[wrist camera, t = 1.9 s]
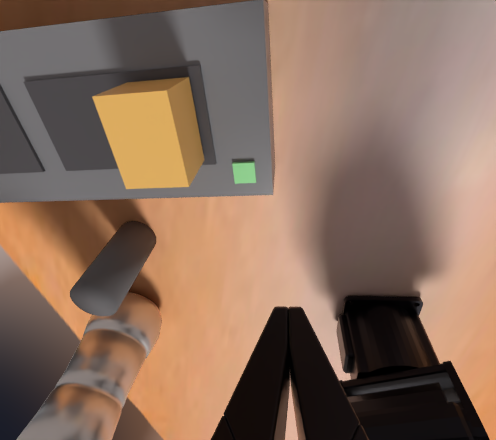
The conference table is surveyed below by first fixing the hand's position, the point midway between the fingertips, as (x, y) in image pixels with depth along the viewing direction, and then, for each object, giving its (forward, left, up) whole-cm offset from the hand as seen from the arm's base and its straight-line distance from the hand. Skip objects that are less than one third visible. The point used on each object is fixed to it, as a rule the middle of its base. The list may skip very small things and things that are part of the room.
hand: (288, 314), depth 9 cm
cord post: (+13, +7, -13) cm, 19 cm away
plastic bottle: (+16, +16, -13) cm, 26 cm away
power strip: (+11, -4, -13) cm, 17 cm away
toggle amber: (+6, -4, -8) cm, 11 cm away
